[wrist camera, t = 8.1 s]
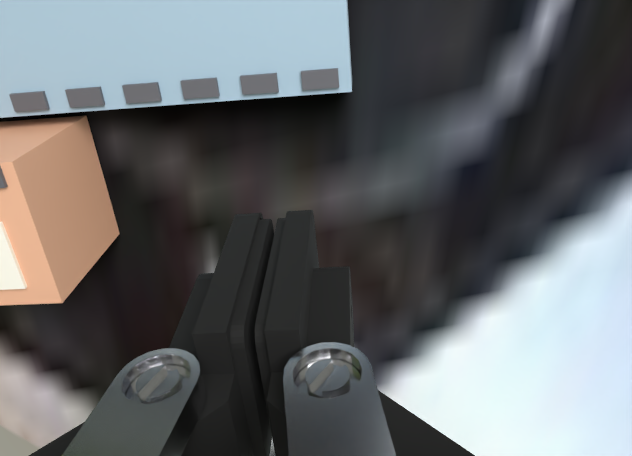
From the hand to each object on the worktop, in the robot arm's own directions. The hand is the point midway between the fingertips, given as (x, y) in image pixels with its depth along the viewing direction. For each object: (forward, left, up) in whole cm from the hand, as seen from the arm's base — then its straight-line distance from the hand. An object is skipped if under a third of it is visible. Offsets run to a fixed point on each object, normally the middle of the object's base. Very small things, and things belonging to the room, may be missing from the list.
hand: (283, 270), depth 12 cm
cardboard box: (+1, -11, -9) cm, 15 cm away
